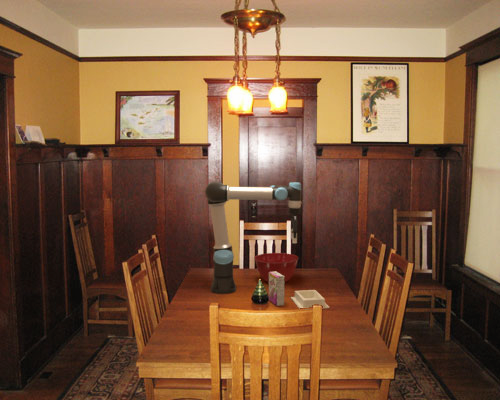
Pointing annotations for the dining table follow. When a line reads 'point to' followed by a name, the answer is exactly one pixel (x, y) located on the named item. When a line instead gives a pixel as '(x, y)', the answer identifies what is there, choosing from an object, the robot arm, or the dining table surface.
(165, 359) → the dining table surface
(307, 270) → the dining table surface
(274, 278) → the candy bar box
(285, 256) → the mixing bowl
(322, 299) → the beige shallow square tray
